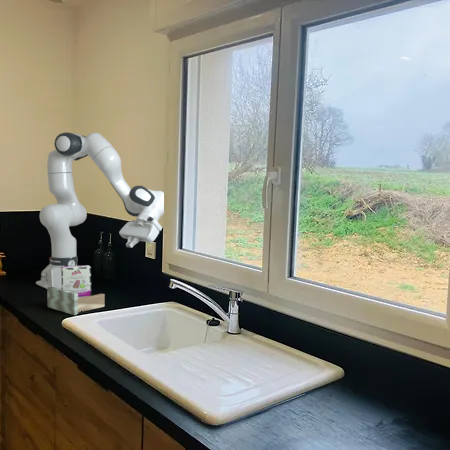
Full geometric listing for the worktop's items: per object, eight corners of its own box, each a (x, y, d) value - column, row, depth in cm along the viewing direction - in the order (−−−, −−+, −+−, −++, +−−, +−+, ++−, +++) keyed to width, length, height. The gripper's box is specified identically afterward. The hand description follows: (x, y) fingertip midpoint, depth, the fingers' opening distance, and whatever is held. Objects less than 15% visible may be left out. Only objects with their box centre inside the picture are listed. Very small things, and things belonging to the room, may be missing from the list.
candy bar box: (90, 304, 206) (90, 264, 205) (91, 307, 202) (91, 266, 200) (61, 306, 202) (60, 266, 201) (62, 309, 198) (61, 268, 196)
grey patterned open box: (47, 306, 202) (47, 287, 201) (81, 300, 214) (81, 281, 213) (74, 315, 190) (74, 294, 190) (108, 307, 203) (108, 287, 202)
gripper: (126, 215, 232) (109, 239, 226) (157, 219, 219) (140, 244, 213) (134, 224, 236) (117, 248, 230) (165, 228, 223) (148, 253, 217)
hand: (128, 246), depth 221 cm, fingers closed
